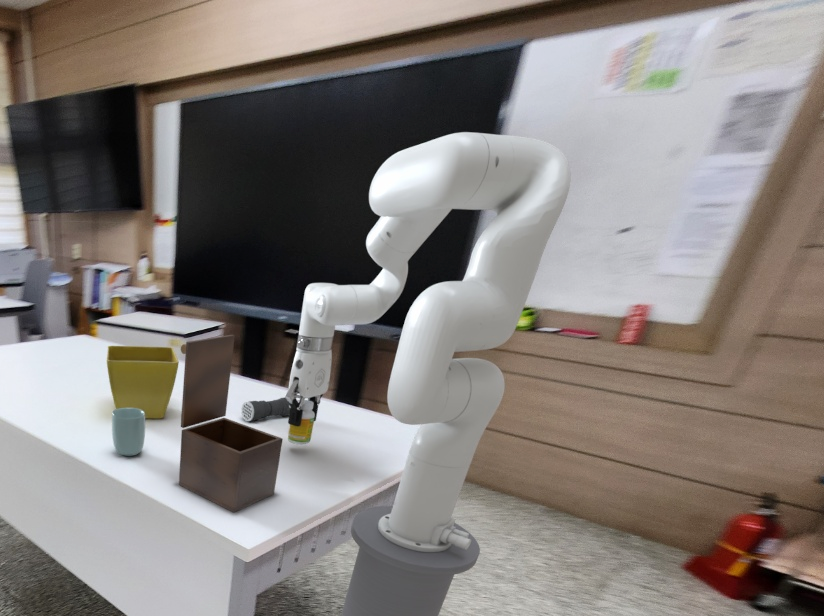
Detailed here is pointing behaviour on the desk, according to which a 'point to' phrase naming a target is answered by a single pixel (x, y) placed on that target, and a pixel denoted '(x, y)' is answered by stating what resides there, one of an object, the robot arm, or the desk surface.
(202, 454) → the chest
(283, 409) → the flashlight
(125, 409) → the cup
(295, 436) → the supplement bottle
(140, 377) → the flower pot
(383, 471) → the desk surface
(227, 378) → the lid
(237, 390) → the desk surface
